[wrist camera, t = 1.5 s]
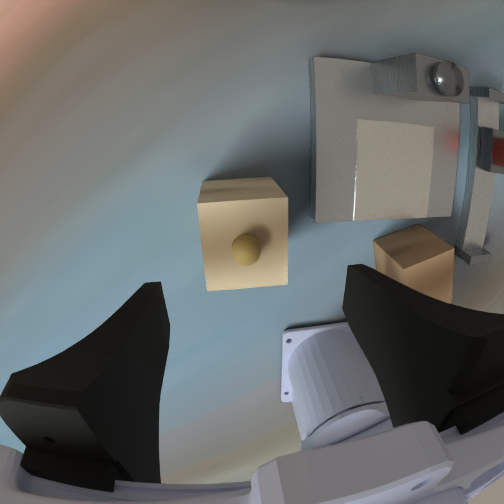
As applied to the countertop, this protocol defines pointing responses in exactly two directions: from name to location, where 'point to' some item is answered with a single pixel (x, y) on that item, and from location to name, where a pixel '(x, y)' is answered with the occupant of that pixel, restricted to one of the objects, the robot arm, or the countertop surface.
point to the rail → (478, 179)
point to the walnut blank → (417, 261)
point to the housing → (243, 233)
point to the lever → (492, 150)
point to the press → (384, 137)
